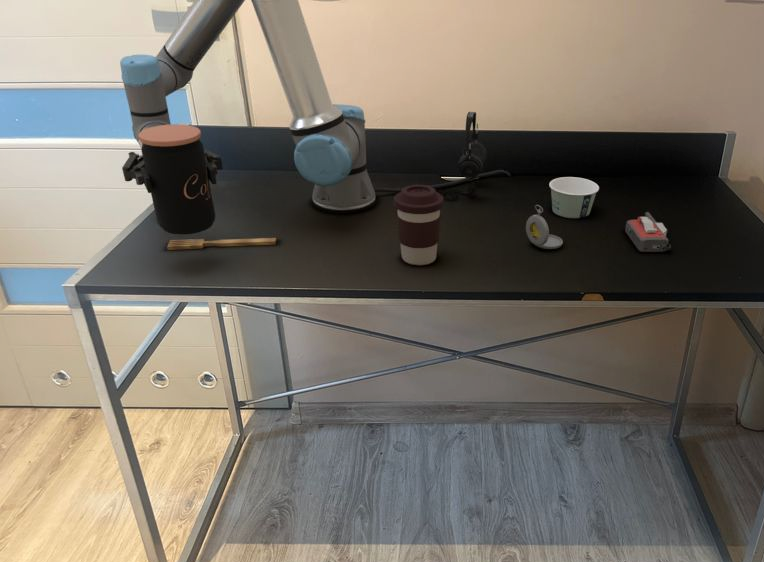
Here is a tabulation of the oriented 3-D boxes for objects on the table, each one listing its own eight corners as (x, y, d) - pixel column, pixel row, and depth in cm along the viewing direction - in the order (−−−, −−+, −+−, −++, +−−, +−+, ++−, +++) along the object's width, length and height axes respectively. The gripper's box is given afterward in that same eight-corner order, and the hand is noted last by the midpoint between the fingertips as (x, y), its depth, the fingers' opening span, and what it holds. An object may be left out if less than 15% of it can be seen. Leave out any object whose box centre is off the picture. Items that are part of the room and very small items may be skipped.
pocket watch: (565, 241, 157) (570, 198, 152) (556, 256, 150) (561, 212, 145) (530, 235, 159) (533, 193, 154) (520, 249, 153) (523, 206, 147)
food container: (537, 205, 174) (539, 180, 171) (577, 199, 179) (580, 174, 175) (564, 223, 166) (567, 197, 162) (605, 216, 170) (609, 190, 167)
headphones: (444, 179, 188) (446, 103, 177) (486, 183, 187) (490, 106, 176) (435, 200, 175) (435, 119, 164) (479, 204, 174) (483, 122, 163)
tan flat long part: (276, 239, 153) (276, 236, 152) (275, 246, 150) (275, 242, 150) (170, 243, 149) (170, 240, 149) (167, 250, 147) (167, 246, 146)
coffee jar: (198, 239, 132) (180, 144, 122) (147, 232, 133) (125, 137, 123) (226, 217, 140) (211, 127, 130) (178, 211, 142) (160, 121, 132)
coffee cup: (424, 273, 142) (424, 203, 133) (385, 260, 146) (383, 191, 138) (451, 256, 149) (453, 188, 141) (413, 244, 153) (412, 178, 145)
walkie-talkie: (678, 254, 153) (649, 218, 170) (682, 235, 151) (653, 201, 167) (640, 255, 152) (614, 218, 169) (643, 236, 150) (617, 201, 167)
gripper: (221, 158, 152) (247, 192, 136) (104, 171, 142) (118, 210, 126) (215, 122, 147) (242, 153, 131) (95, 134, 138) (108, 169, 122)
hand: (181, 181), depth 129 cm, fingers closed on coffee jar, 11 cm apart
